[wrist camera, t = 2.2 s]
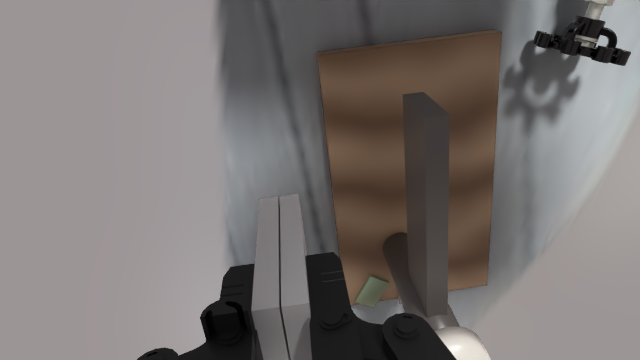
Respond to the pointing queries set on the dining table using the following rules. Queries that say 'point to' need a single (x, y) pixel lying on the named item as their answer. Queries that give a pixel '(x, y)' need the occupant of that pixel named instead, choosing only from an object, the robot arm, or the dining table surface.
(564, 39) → the valve
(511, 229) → the dining table surface
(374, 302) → the board
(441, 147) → the dark piece
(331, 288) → the robot arm
